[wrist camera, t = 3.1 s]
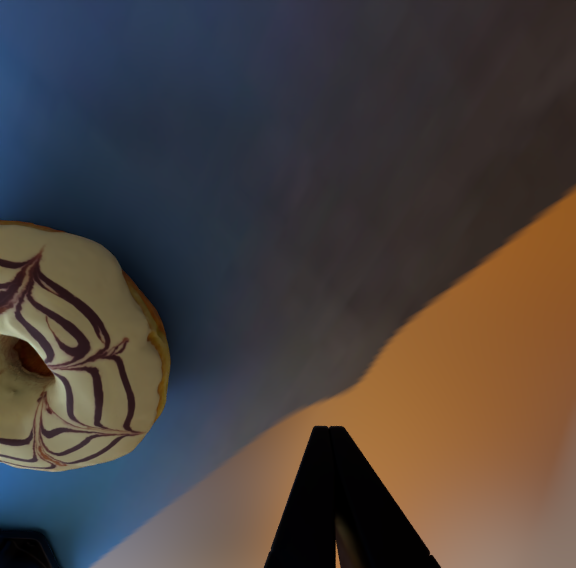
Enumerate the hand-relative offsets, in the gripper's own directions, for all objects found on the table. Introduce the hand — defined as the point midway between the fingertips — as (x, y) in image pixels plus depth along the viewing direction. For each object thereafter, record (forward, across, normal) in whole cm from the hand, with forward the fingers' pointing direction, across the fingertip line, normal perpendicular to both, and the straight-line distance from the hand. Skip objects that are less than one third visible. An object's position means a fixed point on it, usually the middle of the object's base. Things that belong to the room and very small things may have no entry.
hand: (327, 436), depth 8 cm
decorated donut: (+6, +11, 0) cm, 13 cm away
